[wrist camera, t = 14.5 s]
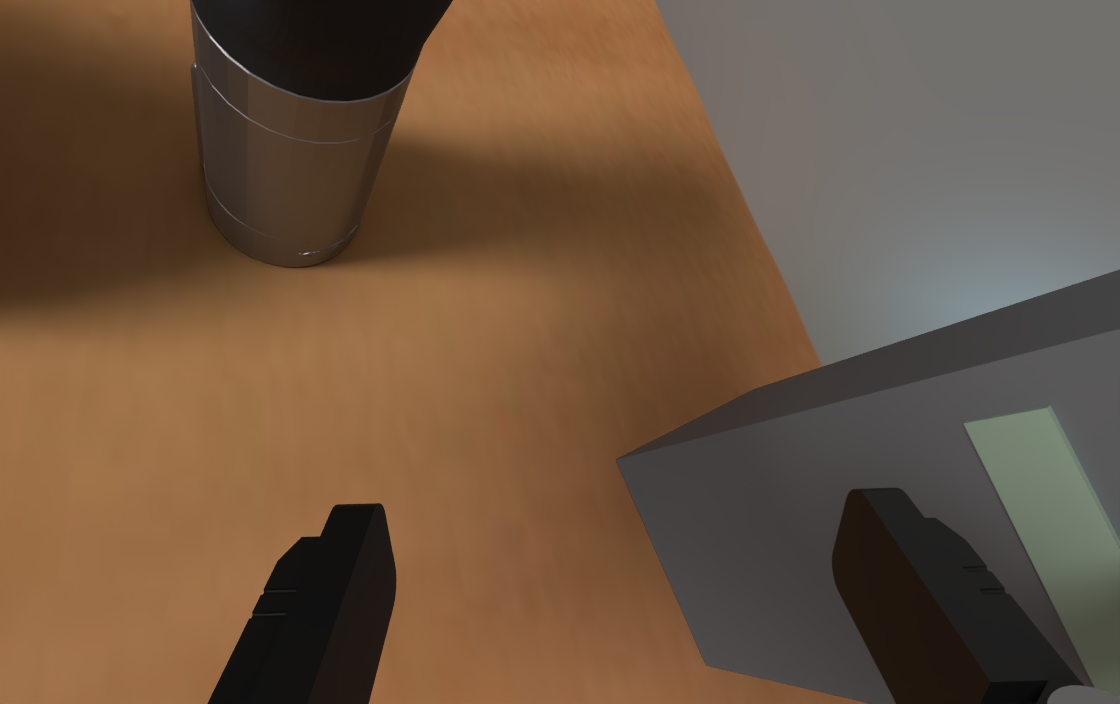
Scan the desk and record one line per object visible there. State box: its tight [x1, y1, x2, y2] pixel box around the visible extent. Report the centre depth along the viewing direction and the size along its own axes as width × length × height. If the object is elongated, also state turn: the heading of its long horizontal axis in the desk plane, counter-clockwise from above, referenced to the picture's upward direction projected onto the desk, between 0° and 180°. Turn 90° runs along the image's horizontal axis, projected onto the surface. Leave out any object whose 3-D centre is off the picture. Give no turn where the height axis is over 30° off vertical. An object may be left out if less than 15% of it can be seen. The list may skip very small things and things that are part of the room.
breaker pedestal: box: [616, 270, 1120, 704], centre depth 36 cm, size 16×16×32 cm
